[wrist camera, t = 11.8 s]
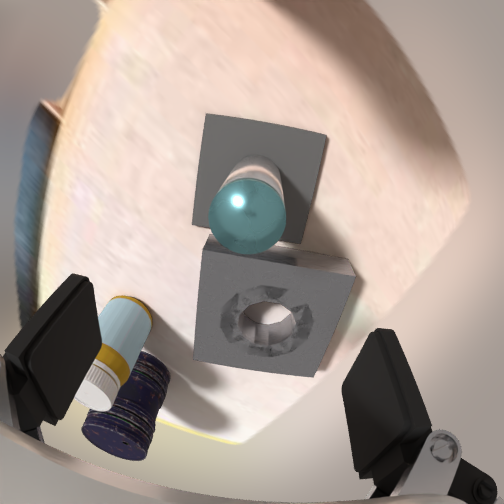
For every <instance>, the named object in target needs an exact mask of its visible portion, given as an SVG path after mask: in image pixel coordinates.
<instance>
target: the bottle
mask: <svg viewBox="0 0 504 504" xmlns="http://www.w3.org/2000/svg"><path fill="white" fill-rule="evenodd" d="M98 320H99V326H100V331H101V337H102V346H101V349H100V351H99V353H98V355H97V356H96V358H95V360H94V362H93V364H92V365H91V367H90V369H89V371H88V372H87V374H86V376H85V378H84V380H83V382H82V383H81V385H80V387H79V389H78V391H77V393H76V395H75V397H74V399H75V400H77V401H78V402H79V403H81V404H82V405H84V406H86V407H88V408H90V409H93V410H96V411H108V410H109V409H110V408H111V407H112V405H113V403H114V401H115V398H116V396H117V393H118V391H119V389H120V387H121V386H122V385H123V384H124V383H125V382H126V381H127V380H128V378H129V376H130V374H131V371H132V369H133V367H134V365H135V363H136V360H137V358H138V356H139V354H140V352H141V350H142V347H143V345H144V343H145V341H146V339H147V337H148V335H149V332H150V330H151V327H152V317H151V315H150V313H149V311H148V309H147V308H146V307H145V306H144V304H142V303H141V302H140V301H139V300H137V299H135V298H132V297H128V296H116V297H114V298H112V299H111V300H110V301H109V302H108V304H107V305H106V307H105V308H104V309H103V311H102V312H101V314H100V315H99V317H98Z"/></svg>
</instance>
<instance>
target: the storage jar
mask: <svg viewBox="0 0 504 504" xmlns="http://www.w3.org/2000/svg"><path fill="white" fill-rule="evenodd" d="M169 382H170V374H169V371H168V369H167V368H166V366H165V365H164V364H163V363H162V362H161V361H160V360H158V359H157V358H155V357H154V356H152V355H150V354H148V353H146V352H143V351H141V352H140V354H139V356H138V358H137V360H136V363H135V365H134V367H133V369H132V371H131V374H130V376H129V378H128V380H127V381H126V382H125V383H124V384H123V385H122V386H121V387H120V389H119V391H118V393H117V396H116V398H115V401H114V403H113V405H112V407H111V408H110V409H109V410H108V411H96V410H93V409H90V410H89V412H88V414H87V418H86V420H85V422H84V424H83V426H82V429H81V430H82V433H83V435H84V436H85V437H86V438H87V439H88V440H89V441H90V442H91V443H92V444H94V445H95V446H96V447H98V448H100V449H101V450H103V451H105V452H107V453H109V454H111V455H114V456H116V457H119V458H122V459H126V460H132V461H141V460H144V459H145V458H146V456H147V452H148V451H147V450H148V448H149V446H150V444H151V441H152V438H153V433H154V432H155V421H156V417H157V414H158V411H159V409H160V408H161V406H162V404H163V401H164V399H165V396H166V393H167V387H168V384H169Z"/></svg>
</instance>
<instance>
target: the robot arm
mask: <svg viewBox="0 0 504 504" xmlns="http://www.w3.org/2000/svg"><path fill="white" fill-rule="evenodd" d="M101 346H102V337H101V331H100V326H99V320H98V315H97V308H96V302H95V295H94V288H93V284H92V283H91V282H90V281H89V278H88V277H86V276H82V275H78V274H71V275H70V276H69V277H68V278H67V279H66V280H65V281H64V282H63V283H62V284H61V285H60V286H59V287H58V289H57V290H56V291H55V292H54V293H53V294H52V295H51V296H50V297H49V298H48V299H47V301H46V302H45V303H44V304H43V305H42V306H41V307H40V308H39V310H38V311H37V312H36V313H35V314H34V315H33V316H32V318H31V319H30V320H29V321H28V322H27V323H26V325H25V326H24V327H23V328H22V329H21V331H20V332H19V333H18V334H17V336H16V337H15V338H14V339H13V340H12V342H11V343H10V344H9V345H8V347H7V348H6V349H5V354H4V356H3V357H2V355H1V354H0V504H504V500H503V499H502V498H501V497H498V498H496V497H497V486H496V483H495V482H494V480H493V479H492V478H491V477H490V476H489V475H487V474H486V473H484V472H482V471H481V470H479V469H478V468H476V467H475V466H473V465H471V464H470V463H468V462H467V461H465V460H464V459H462V458H461V454H462V449H461V445H460V443H459V440H458V439H457V438H456V436H454V435H453V434H452V433H451V432H449V431H446V430H440V429H439V430H435V431H433V432H432V429H431V426H432V424H431V421H430V419H429V416H428V413H427V410H426V407H425V405H424V402H423V399H422V397H421V394H420V392H419V389H418V386H417V384H416V381H415V379H414V376H413V374H412V372H411V369H410V366H409V364H408V362H407V359H406V357H405V355H404V352H403V350H402V348H401V345H400V343H399V341H398V338H397V336H396V334H395V332H394V330H392V329H382V328H377V329H376V330H375V331H374V332H371V333H370V334H369V336H368V338H367V339H366V341H365V343H364V345H363V347H362V349H361V351H360V353H359V355H358V357H357V358H356V361H355V362H354V364H353V366H352V368H351V369H350V371H349V373H348V375H347V377H346V378H345V380H344V382H343V385H342V396H343V401H344V407H345V413H346V419H347V425H348V431H349V437H350V443H351V450H352V456H353V463H354V469H355V471H356V472H359V478H360V479H368V478H373V481H374V486H373V487H372V489H371V491H370V492H369V493H368V495H367V496H366V498H365V499H364V500H352V501H337V502H315V503H287V502H285V503H284V502H264V501H252V500H240V499H232V498H224V497H217V496H210V495H204V494H198V493H192V492H187V491H182V490H177V489H173V488H168V487H164V486H160V485H157V484H153V483H149V482H145V481H141V480H138V479H135V478H131V477H128V476H125V475H122V474H119V473H116V472H113V471H109V470H107V469H104V468H101V467H98V466H96V465H93V464H91V463H88V462H86V461H83V460H81V459H78V458H76V457H73V456H71V455H69V454H67V453H64V452H62V451H59V450H57V449H55V448H53V447H51V446H49V445H47V444H45V443H44V439H43V436H42V432H41V429H40V425H41V423H42V421H46V422H48V423H50V424H52V425H54V426H56V424H57V422H58V420H62V419H63V418H64V416H65V414H66V412H67V410H68V408H69V406H70V404H71V402H72V400H73V399H74V397H75V395H76V393H77V391H78V389H79V387H80V385H81V383H82V382H83V380H84V378H85V376H86V374H87V372H88V371H89V369H90V367H91V365H92V364H93V362H94V360H95V358H96V356H97V355H98V353H99V351H100V349H101Z"/></svg>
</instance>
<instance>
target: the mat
mask: <svg viewBox="0 0 504 504" xmlns="http://www.w3.org/2000/svg"><path fill="white" fill-rule="evenodd" d="M326 136H327V135H324V134H320V133H316V132H312V131H307V130H303V129H298V128H293V127H288V126H283V125H278V124H273V123H267V122H262V121H256V120H250V119H243V118H237V117H230V116H223V115H215V114H206V116H205V123H204V130H203V137H202V144H201V151H200V158H199V166H198V174H197V182H196V191H195V200H194V209H193V219H192V225H196V226H202V227H208V228H210V225H209V219H208V215H209V208H210V205H211V203H212V201H213V199H214V197H215V196H216V194H217V192H218V191H219V189H220V188H221V186H222V185H223V183H224V182H225V180H226V179H227V177H228V176H229V174H230V173H231V171H232V170H233V168H234V167H235V165H236V164H237V163H238V162H239V161H240V160H241V159H243V158H244V157H247V156H250V155H261V156H264V157H267V158H269V159H270V160H272V161H273V162H274V163H275V164H276V166H277V167H278V169H279V172H280V176H281V183H282V190H283V197H284V204H285V211H286V226H285V229H284V232H283V234H282V236H281V238H280V239H279V240H281V241H287V242H292V243H298V244H301V241H302V237H303V233H304V229H305V225H306V221H307V217H308V213H309V209H310V205H311V201H312V197H313V193H314V189H315V184H316V180H317V176H318V172H319V167H320V163H321V158H322V154H323V149H324V145H325V140H326Z"/></svg>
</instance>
